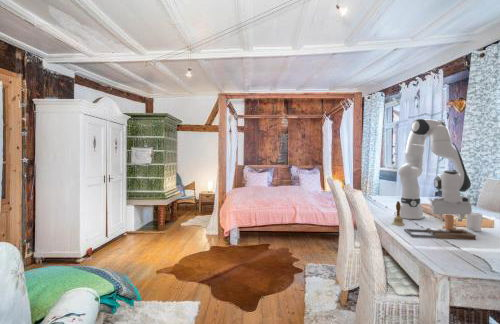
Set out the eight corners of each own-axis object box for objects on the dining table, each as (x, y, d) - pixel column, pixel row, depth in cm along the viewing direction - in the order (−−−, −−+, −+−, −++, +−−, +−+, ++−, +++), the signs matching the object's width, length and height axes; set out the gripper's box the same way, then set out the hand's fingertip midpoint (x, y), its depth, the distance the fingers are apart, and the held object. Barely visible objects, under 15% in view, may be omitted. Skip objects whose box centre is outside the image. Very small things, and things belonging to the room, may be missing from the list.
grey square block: (429, 233, 162) (429, 228, 162) (437, 233, 161) (437, 228, 161) (432, 235, 158) (433, 230, 158) (440, 235, 157) (441, 230, 157)
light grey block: (438, 233, 161) (438, 228, 161) (446, 234, 160) (446, 228, 160) (441, 235, 157) (441, 230, 157) (449, 236, 156) (449, 230, 156)
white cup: (480, 232, 166) (480, 215, 166) (463, 229, 172) (464, 213, 172) (483, 230, 171) (483, 213, 171) (467, 227, 177) (467, 211, 177)
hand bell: (406, 228, 178) (406, 202, 178) (392, 227, 181) (392, 202, 180) (404, 224, 186) (404, 200, 185) (390, 223, 189) (390, 200, 188)
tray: (404, 232, 168) (404, 228, 168) (426, 233, 166) (426, 229, 166) (411, 239, 156) (411, 234, 156) (436, 240, 154) (436, 235, 154)
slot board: (425, 233, 167) (425, 227, 167) (462, 234, 163) (462, 228, 163) (436, 240, 153) (436, 234, 153) (476, 242, 150) (476, 236, 149)
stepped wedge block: (442, 230, 172) (442, 214, 171) (451, 230, 171) (452, 214, 171) (446, 232, 167) (446, 215, 167) (456, 233, 166) (456, 216, 166)
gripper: (434, 199, 167) (434, 222, 167) (473, 198, 163) (473, 222, 164) (429, 197, 173) (429, 220, 173) (466, 197, 169) (467, 220, 170)
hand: (451, 221), depth 168 cm, fingers open, 8 cm apart
